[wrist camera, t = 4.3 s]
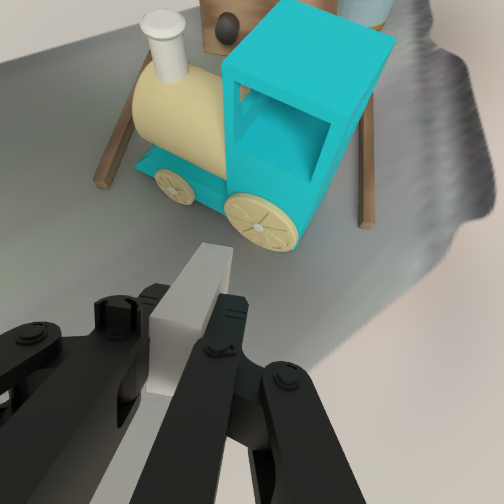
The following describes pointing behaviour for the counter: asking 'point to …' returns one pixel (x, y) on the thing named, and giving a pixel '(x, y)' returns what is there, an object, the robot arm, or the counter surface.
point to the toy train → (257, 116)
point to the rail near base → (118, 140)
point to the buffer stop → (240, 20)
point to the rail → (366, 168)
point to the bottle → (365, 12)
